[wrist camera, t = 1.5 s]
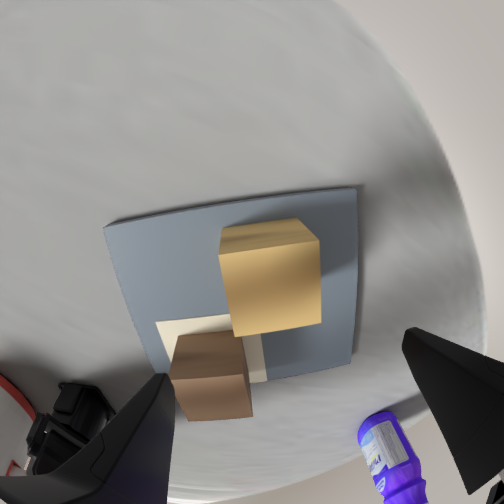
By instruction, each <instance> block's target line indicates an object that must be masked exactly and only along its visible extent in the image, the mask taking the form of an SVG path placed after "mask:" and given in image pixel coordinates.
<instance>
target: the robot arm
mask: <svg viewBox="0 0 504 504" xmlns="http://www.w3.org/2000/svg"><path fill="white" fill-rule="evenodd" d="M402 351H403V353H404V356H405V358H406V360H407V363H408V365H409V367H410V370H411V372H412V375H413V377H414V379H415V381H416V383H417V385H418V387H419V389H420V391H421V393H422V394H423V396H424V398H425V400H426V402H427V404H428V406H429V408H430V410H431V412H432V414H433V415H434V418H435V419H436V421H437V423H438V426H439V428H440V430H441V432H442V434H443V436H444V438H445V440H446V442H447V445H448V447H449V449H450V451H451V453H452V456H453V457H454V461H455V463H456V465H457V467H458V470H459V473H460V475H461V478H462V480H463V482H464V485H465V488H466V490H467V493H468V495H471V494H472V493H473V492H475V491H476V490H478V489H479V488H480V487H482V486H483V485H484V484H486V483H487V482H488V481H489V480H491V479H492V478H493V477H494V476H496V475H497V474H499V476H500V477H501V480H500V481H499V482H497V484H495V485H494V486H493V487H492V488H491V490H490V493H489V496H488V499H487V502H486V504H504V363H503V362H500V361H497V360H495V359H492V358H490V357H487V356H484V355H482V354H480V353H477V352H475V351H472V350H470V349H468V348H465V347H463V346H460V345H458V344H455V343H453V342H451V341H448V340H446V339H443V338H441V337H438V336H436V335H434V334H431V333H429V332H426V331H424V330H422V329H419V328H417V327H412V328H409V329H407V330H406V331H405V334H404V338H403V343H402ZM58 387H59V389H60V390H61V393H60V395H59V397H58V399H57V401H56V403H55V405H54V407H53V409H54V412H53V414H52V416H51V415H50V414H49V413H46V414H45V415H44V414H41V413H38V414H37V416H36V418H35V420H34V422H33V424H32V426H31V428H30V430H29V433H28V435H27V438H26V442H27V445H28V447H27V449H28V451H27V455H28V456H29V457H31V459H30V462H29V465H28V467H27V470H26V474H27V476H0V499H2V500H3V501H4V502H6V503H7V504H167V494H168V482H169V472H170V462H171V453H172V445H173V436H174V427H175V389H174V386H173V384H172V382H171V380H170V378H169V376H168V374H167V373H156V374H154V375H153V376H152V378H151V379H150V380H149V381H148V382H147V383H146V384H145V385H144V386H143V387H142V388H141V389H140V390H139V391H138V392H137V393H136V394H135V395H134V397H133V398H132V399H131V400H130V401H129V402H128V403H127V404H126V405H125V406H124V407H123V408H122V409H121V410H120V411H119V412H118V413H117V414H116V413H115V412H114V410H113V409H112V408H111V406H110V405H109V403H108V402H107V401H106V399H105V398H104V396H103V395H102V393H101V392H100V390H99V389H98V388H97V387H95V386H85V385H75V384H66V383H59V384H58ZM108 422H109V423H108ZM44 431H46V432H47V433H45V432H44Z"/></svg>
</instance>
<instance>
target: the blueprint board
mask: <svg viewBox="0 0 504 504" xmlns="http://www.w3.org/2000/svg"><path fill="white" fill-rule="evenodd" d="M291 218H298V219H299V220H300V221H301V222H302V223H303V224H304V225H305V226H306V227H307V228H308V229H309V230H310V231H311V232H312V233H313V234H314V235H315V236H316V237H317V238H318V239H319V246H320V271H321V323H318V324H313V325H308V326H302V327H297V328H291V329H285V330H279V331H273V332H267V333H260V334H254V335H247V336H242V341H243V346H244V351H245V356H246V361H247V366H248V371H249V380H250V384H251V383H258V382H265V381H267V380H273V379H279V378H285V377H291V376H296V375H301V374H306V373H311V372H316V371H321V370H325V369H329V368H334V367H338V366H342V365H346V364H350V362H351V354H352V345H353V336H354V325H355V313H356V298H357V278H358V204H357V189H354V188H340V189H329V190H319V191H309V192H300V193H292V194H283V195H275V196H268V197H260V198H253V199H246V200H239V201H232V202H225V203H219V204H213V205H206V206H200V207H194V208H189V209H183V210H177V211H172V212H166V213H161V214H156V215H151V216H146V217H141V218H136V219H131V220H126V221H121V222H117V223H112V224H108V225H107V226H105V227H103V231H104V235H105V238H106V242H107V246H108V249H109V253H110V256H111V260H112V263H113V266H114V269H115V273H116V276H117V279H118V282H119V285H120V288H121V291H122V294H123V296H124V299H125V302H126V305H127V307H128V310H129V313H130V315H131V318H132V321H133V323H134V326H135V328H136V331H137V333H138V335H139V338H140V340H141V343H142V345H143V347H144V349H145V352H146V354H147V356H148V358H149V361H150V363H151V365H152V367H153V369H154V371H155V373H167V374H168V375H169V370H170V366H171V362H172V358H173V354H174V350H175V346H176V342H177V338H178V336H180V335H191V334H201V333H210V332H219V331H227V330H233V327H232V322H231V317H230V312H229V308H228V303H227V298H226V293H225V288H224V283H223V277H222V272H221V267H220V262H219V256H218V253H219V246H220V239H221V231H222V228H227V227H234V226H241V225H248V224H254V223H261V222H269V221H276V220H283V219H291Z"/></svg>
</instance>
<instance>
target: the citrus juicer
mask: <svg viewBox="0 0 504 504" xmlns="http://www.w3.org/2000/svg"><path fill="white" fill-rule="evenodd" d="M35 418H36V415H35V412H34V410H33V408H32V407H31V405H30V404H29V402H28V401H27V400H26V399H25V397H24V395H23V394H22V393H21V392H20V391H19V390H18V389H16V388H15V387H14V386H13V385H12V384H11V383H10V382H8V381H7V380H6V379H5V378H4V377H2V376H1V375H0V476H27V474H26V471H25V470H23V469H24V467H25V464H26V461H27V459H28V457H29V456H28V455H27V451H28V449H27V447H28V445H27V442H26V438H27V435H28V433H29V430H30V428H31V426H32V424H33V422H34V420H35Z"/></svg>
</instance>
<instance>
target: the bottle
mask: <svg viewBox="0 0 504 504" xmlns="http://www.w3.org/2000/svg"><path fill="white" fill-rule="evenodd" d="M358 443H359V445H360V447H361V449H362V452H363V454H364V457H365V459H366V461H367V464H368V467H369V469H370V472H371V474H372V477H373V480H374V482H375V486H376V488H377V490H378V491H379V492H380V493H381V494H382V495H383V496H384V498H385V499H384V504H429V502H428V501H427V498H426V494H425V486H426V480H424V479H422V478H421V465H420V461H419V458H418V457H417V455H416V453H415V451H414V450H413V448H412V446H411V444H410V442H409V440H408V438H407V436H406V434H405V432H404V430H403V429H402V427H401V425H400V423H399V421H398V420H397V417H396V416H395V415H394V414H393V413H392V412H390V411H386V412H382V413H379V414H376V415H373V416H371V417H369V418H368V419H366V420H365V421H364V422H363V423H362V425H361V427H360V428H359V431H358Z"/></svg>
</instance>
